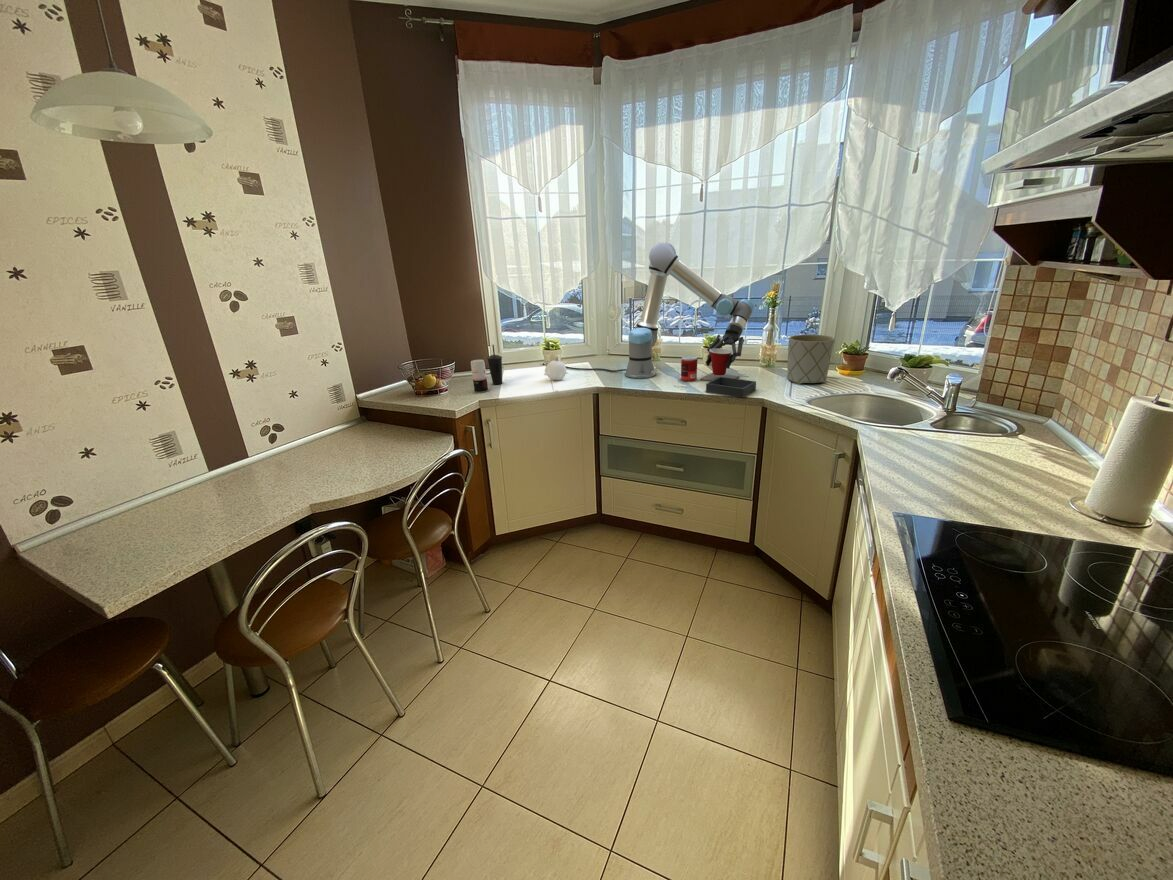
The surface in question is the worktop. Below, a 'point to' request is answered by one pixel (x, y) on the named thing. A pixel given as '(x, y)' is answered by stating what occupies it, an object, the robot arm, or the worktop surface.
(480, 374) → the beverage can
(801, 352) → the planter
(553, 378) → the ornament
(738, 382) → the dark grey tray
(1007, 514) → the worktop surface
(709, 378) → the grey square plate
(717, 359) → the plastic cup
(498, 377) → the drinking cup
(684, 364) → the canned food
